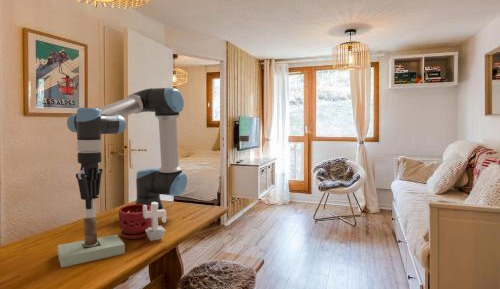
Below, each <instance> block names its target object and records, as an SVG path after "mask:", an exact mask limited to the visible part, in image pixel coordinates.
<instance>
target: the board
mask: <svg viewBox="0 0 500 289" xmlns="http://www.w3.org/2000/svg"><path fill="white" fill-rule="evenodd" d="M97 242H98V244H97V246H96V247H92V248H87V249H86V248H85V246H84V244H85V239H84V240H77V241H73V242H69V243H68V242H67V243H62V244H57V256H58V257H57V258H58V261H59V264H60V268H66V267H70V266H75V265H79V264H83V263H89V262H93V261H97V260H101V259H106V258H111V257H114V256H119V255H123V254H126V247H125V246H126V244H125V243H124V241H123V240H122V239H121V237H119V236H118V234H117V233H115V234H110V235H105V236H101V237H97Z"/></svg>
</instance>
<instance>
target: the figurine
mask: <svg viewBox="0 0 500 289" xmlns="http://www.w3.org/2000/svg"><path fill="white" fill-rule="evenodd" d="M160 217H161V222H162V223H166V222H167V211H166V209H164V208H163V210H158V203H157V202H152V203H151V211H147V206H146V205H143V218H145V219H147V218H151V223H150V226H149V228H147V229H145V232H146V234H147V238H148V240H149V241H151V242H152V241H157V240H162V239H163V237H164V235H165V234H166V229H165V228H164V227H163V226H162V225H159V218H160Z"/></svg>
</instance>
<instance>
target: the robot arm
mask: <svg viewBox="0 0 500 289" xmlns="http://www.w3.org/2000/svg"><path fill="white" fill-rule="evenodd" d="M183 109H184V97H183V95H182V93H181V92H180V90H179V89H176V88H175V87H174V88H173V87H160V88H159V87H158V88H157V87H156V88H146V89H143V90H139V91H136V92H134V93H131V94H129V95H127V96H126V98H123V99H120V100H117V101H114V102H112V103H109V104H107V105H104V106H101V107H98V108H97V107H79V108H78V109H77V110H76V113H74V114H71V115H70V116H68V118H67V120H66V125H67V128H68V130H69V131H70V132H72V133H75V134H76V138H77V142H76V144H77V151H78V152H77V156H76V157H77V163H78V164H80V172H79V173H76V174H75V178H76V179H77V184H78V189H79V195H80V199H81V200H82V201H85V219H86V218H94V217H95V218H97V217H96V214H97V213H96V199H99V198H100V197H99V195H100V189H101V180H102V174H103V171H104V170H103V168H100V167H99V163H101V162H102V152H101V151H102V135H117V134H122V133H123V132H124V131H125V130H126V127H127V123H126V122H127V121H126V119H125V117H127V116H128V117H129V116H130V115H132V114H136V115H137V114H140V113H151V112H153V113H154V117H156V118H157V119H158V131H159V147H160V150H159V151H160V165H161V166H160V168H159V167H153V168H146V169H141V170H138V171H137V172H136V177H135V181H136V200H135V202H134V204H145V205H149V206H151V203H152V202H157V203H158V210H163V209H164V206H163V203H162V200H161V195H165V196H171V197H174V196H175V197H177V196H178V197H179V196H180V195H182V194H183V192H184V191H185V189H186V187H187V184H188V176H187V174H186V173H184V172H183V170H182V167H181V166H180V165H179V164H180V163H179V162H180V161H179V146H178V144H179V143H178V142H179V141H178V125H177V124H178V123H177V122H178V121H177V120H178V119H177V118H179V116H180V112H182V111H183ZM136 212H138V210H136ZM132 213H134V212H132Z"/></svg>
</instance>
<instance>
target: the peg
mask: <svg viewBox="0 0 500 289" xmlns="http://www.w3.org/2000/svg"><path fill="white" fill-rule="evenodd" d="M97 220H98V219H97V217H94V218H86V217H85V218H84V220H83V226H84V227H83V228H84V229H83V230H84V240H85V244H84V246H85V248H86V249H87V248H92V247H96V246H97V244H98V242H97V238H98V230H97V229H98V228H97Z"/></svg>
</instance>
